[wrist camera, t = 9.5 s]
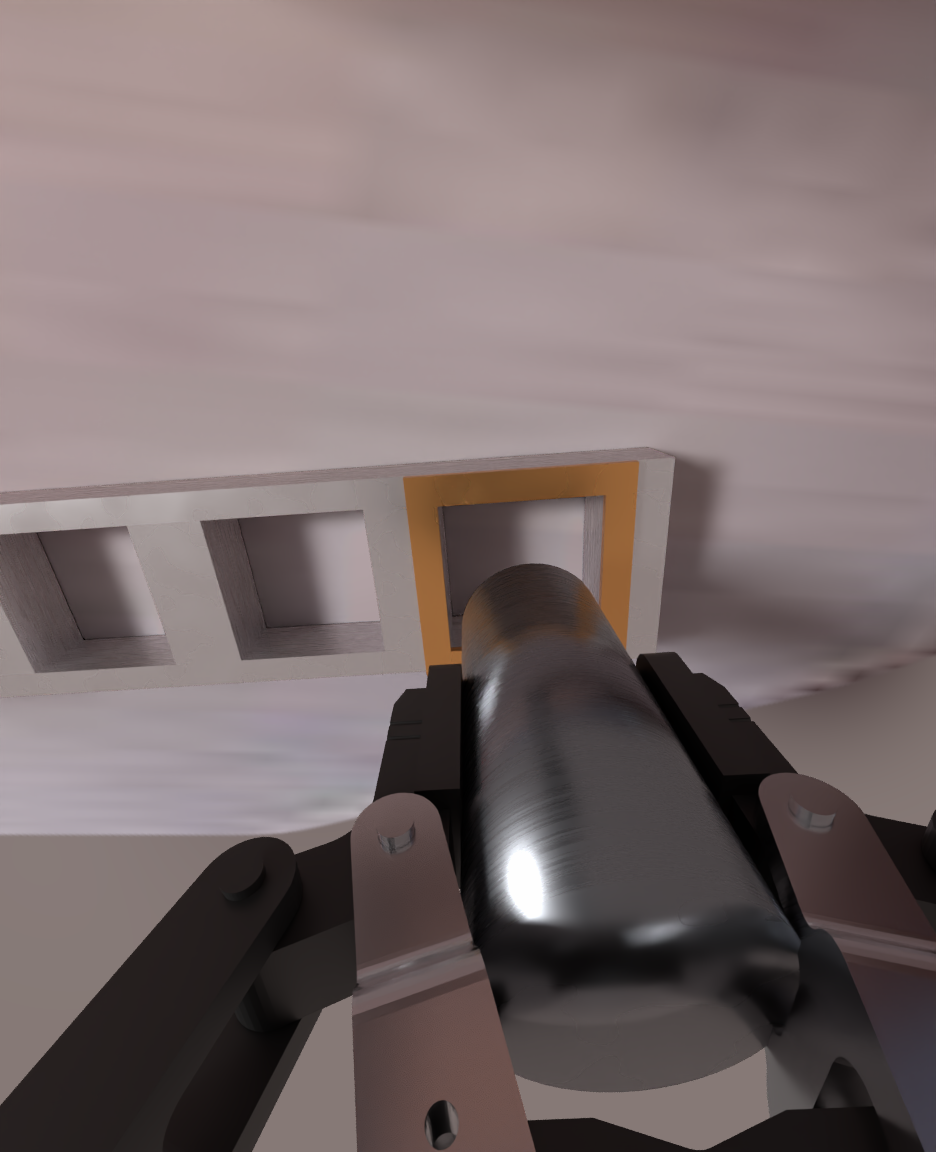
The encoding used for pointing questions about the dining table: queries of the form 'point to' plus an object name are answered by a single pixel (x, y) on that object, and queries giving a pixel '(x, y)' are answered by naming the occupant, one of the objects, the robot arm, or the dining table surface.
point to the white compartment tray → (385, 494)
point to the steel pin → (602, 858)
